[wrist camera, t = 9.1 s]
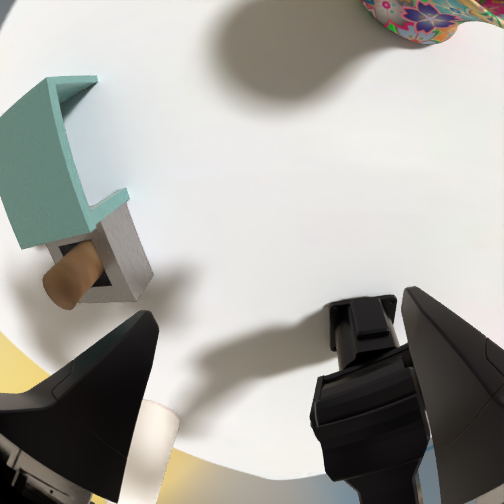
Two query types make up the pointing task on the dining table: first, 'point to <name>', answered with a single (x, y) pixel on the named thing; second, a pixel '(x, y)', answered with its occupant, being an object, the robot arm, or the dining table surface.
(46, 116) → the station
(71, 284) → the peg
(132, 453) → the alcohol
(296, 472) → the dining table surface
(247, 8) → the dining table surface
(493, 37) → the dining table surface
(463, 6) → the mug
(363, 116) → the dining table surface
